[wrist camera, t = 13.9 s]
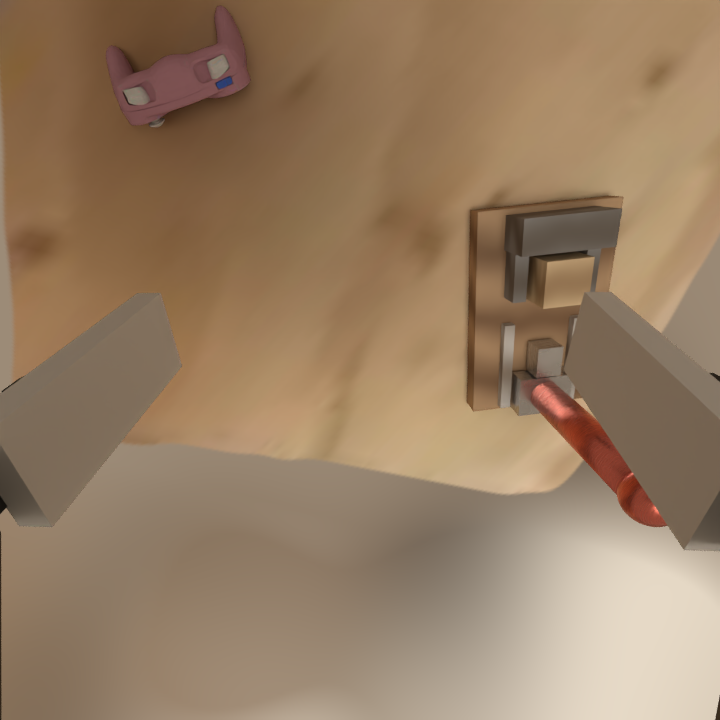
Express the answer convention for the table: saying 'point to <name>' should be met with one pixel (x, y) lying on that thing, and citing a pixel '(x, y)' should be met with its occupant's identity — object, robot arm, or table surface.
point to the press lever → (577, 426)
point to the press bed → (509, 284)
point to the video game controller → (180, 76)
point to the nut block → (559, 279)
